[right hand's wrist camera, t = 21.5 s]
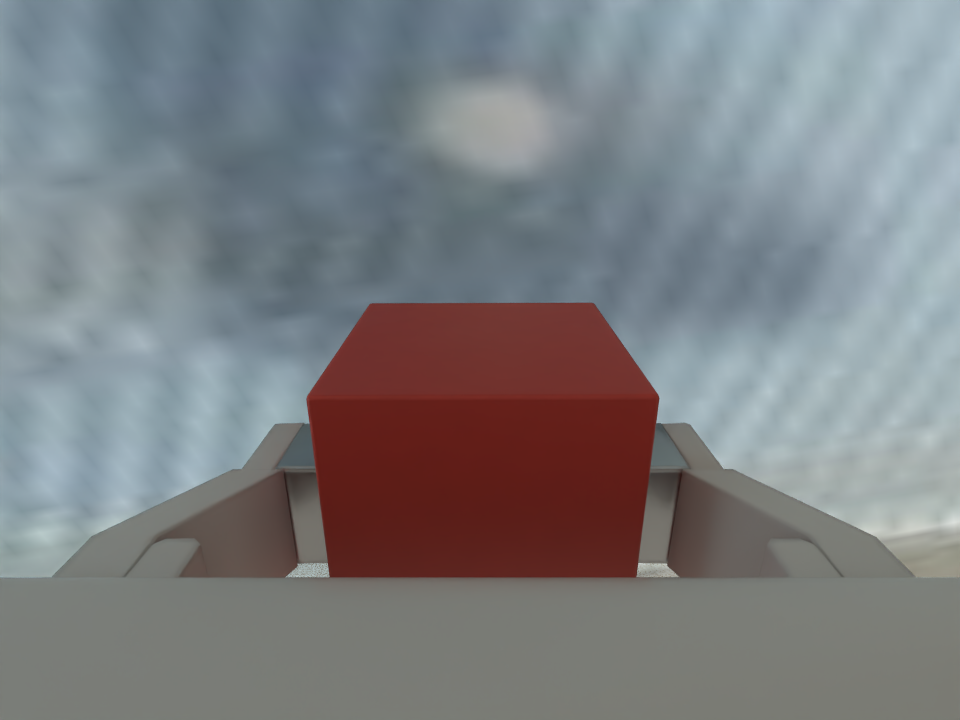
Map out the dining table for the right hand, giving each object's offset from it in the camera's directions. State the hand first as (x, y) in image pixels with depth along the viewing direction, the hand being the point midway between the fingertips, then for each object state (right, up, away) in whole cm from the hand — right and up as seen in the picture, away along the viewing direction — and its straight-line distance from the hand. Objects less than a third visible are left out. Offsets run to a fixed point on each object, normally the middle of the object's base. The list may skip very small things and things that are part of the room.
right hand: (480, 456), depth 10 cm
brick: (0, +1, +1) cm, 2 cm away
